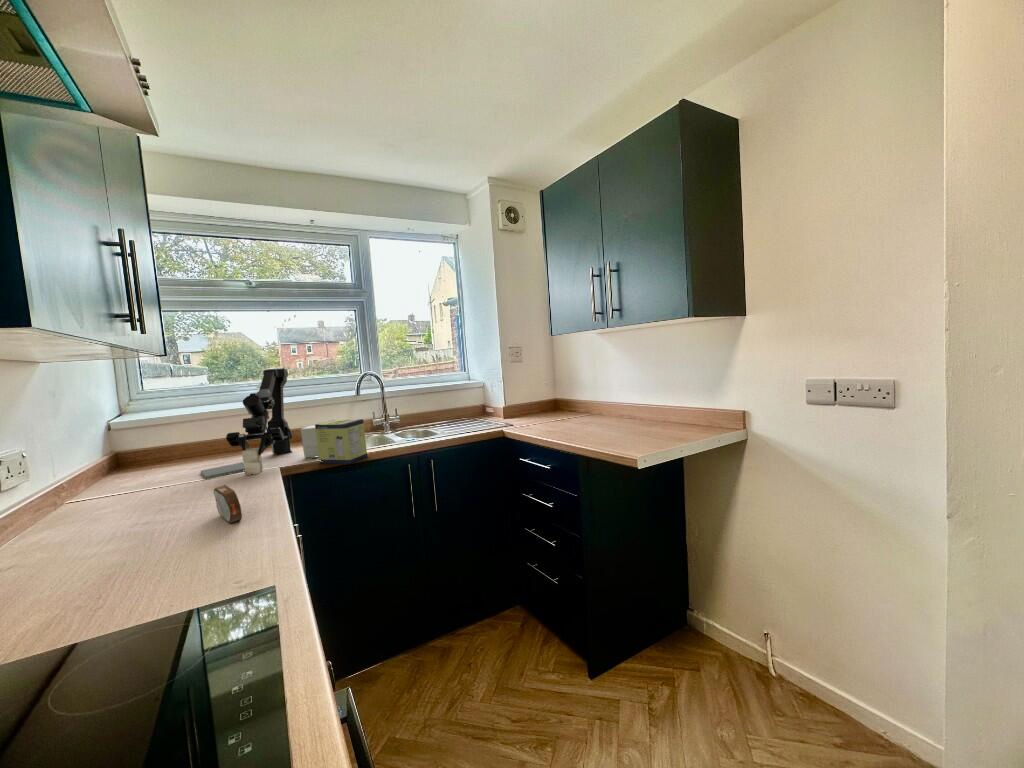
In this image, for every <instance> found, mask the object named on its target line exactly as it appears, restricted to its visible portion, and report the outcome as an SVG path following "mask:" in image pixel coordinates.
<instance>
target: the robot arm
mask: <svg viewBox="0 0 1024 768" xmlns="http://www.w3.org/2000/svg"><path fill="white" fill-rule="evenodd" d="M262 373H263V374H262V380H261V383H260V387H259V390H258V391H257V392H254V393H252V392H251V393H249V395H248V396H246V397H244V399H243V400H242V405H243V406H244V408H245V410H246V411H247V413H248V415H251V417H247V418H243V419H242V428H243V429H245V430H244V431H245V433H247V434H245V433H240V431H235V432H228V433H226V436H225V440H226V441H227V443H228V444H229V445H230V446H231V447H240V448H241V449H242V451H244V450H246V449H250V444H249V443H248V441H253V440H254V441H255V440H260V444H259V447H258V448H259V451H258V455H261V456H262V455H263V453H264V452H265V451H266V449H267V448H269V446H271V452H272V454H273V453H274V455H275V454H276V456H279V455H283V454H288V453H292V452H293V450H292V449H291V444H290V442H291V441H290V439H293V432H292V430H291V428H290V426H289V423H288V421H287V420H286V419H285V413H284V412H285V411H284V408H285V407H284V387H285V385H286V384H287V382H288V376H289V371H288V369H286V368H285V367H274V368H272V367H271V368H265V369H263V372H262ZM268 410H271V418H270V415H269V414H270V413H269V411H268Z"/></svg>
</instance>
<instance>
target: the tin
mask: <svg viewBox="0 0 1024 768" xmlns="http://www.w3.org/2000/svg"><path fill="white" fill-rule="evenodd" d="M213 495H214V498H215V502H216V503H215V504H216V510H217V511H218V514H219V515H220V517H221V518H222V519H223V520H225V521H226V522H227V523H228V524H232V523H236V522H238V521H240V522H241V521H242V520H243V514H242V508H241V503H240V500H239V497H238V496H237V492H235V490H234V489H233V488H231V487H230V486H228V485H227V484H223V485H222V486H218V487H215V488H214V489H213Z"/></svg>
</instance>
